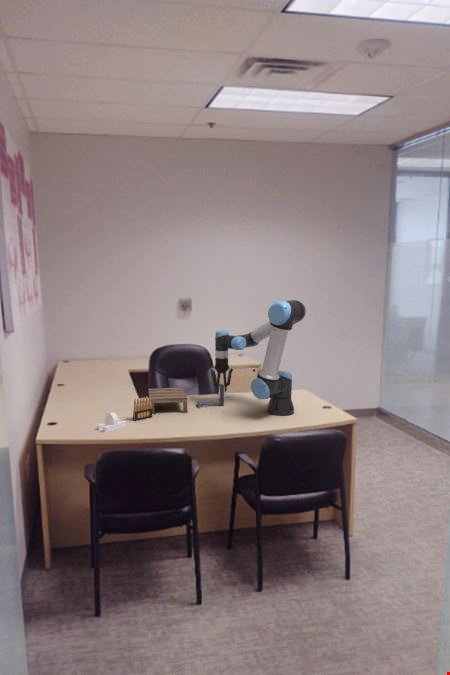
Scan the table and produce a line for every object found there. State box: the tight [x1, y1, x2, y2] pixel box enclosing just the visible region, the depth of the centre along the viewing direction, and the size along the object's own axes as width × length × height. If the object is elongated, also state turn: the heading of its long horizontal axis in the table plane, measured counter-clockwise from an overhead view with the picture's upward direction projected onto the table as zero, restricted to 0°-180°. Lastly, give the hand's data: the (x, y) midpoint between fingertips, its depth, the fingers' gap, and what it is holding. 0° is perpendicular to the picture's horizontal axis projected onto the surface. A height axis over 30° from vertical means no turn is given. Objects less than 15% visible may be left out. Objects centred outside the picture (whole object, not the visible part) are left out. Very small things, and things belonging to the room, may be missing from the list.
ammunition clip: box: [132, 395, 153, 422], centre depth 265 cm, size 11×2×12 cm, turn 129°
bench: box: [148, 387, 188, 415], centre depth 286 cm, size 24×20×8 cm
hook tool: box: [196, 383, 225, 408], centre depth 291 cm, size 7×15×12 cm, turn 101°
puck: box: [199, 403, 209, 408], centre depth 291 cm, size 5×5×1 cm
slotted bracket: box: [97, 411, 127, 433], centre depth 250 cm, size 13×7×8 cm, turn 140°
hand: (221, 397), depth 292 cm, fingers closed on hook tool, 2 cm apart
